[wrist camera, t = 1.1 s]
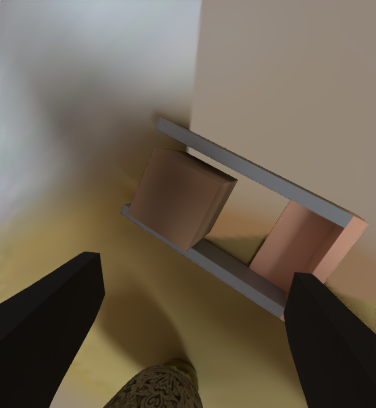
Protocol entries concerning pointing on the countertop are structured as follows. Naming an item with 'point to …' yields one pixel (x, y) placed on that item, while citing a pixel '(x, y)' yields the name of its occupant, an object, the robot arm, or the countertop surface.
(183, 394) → the cup
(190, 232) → the walnut block
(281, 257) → the channel
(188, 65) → the countertop surface
